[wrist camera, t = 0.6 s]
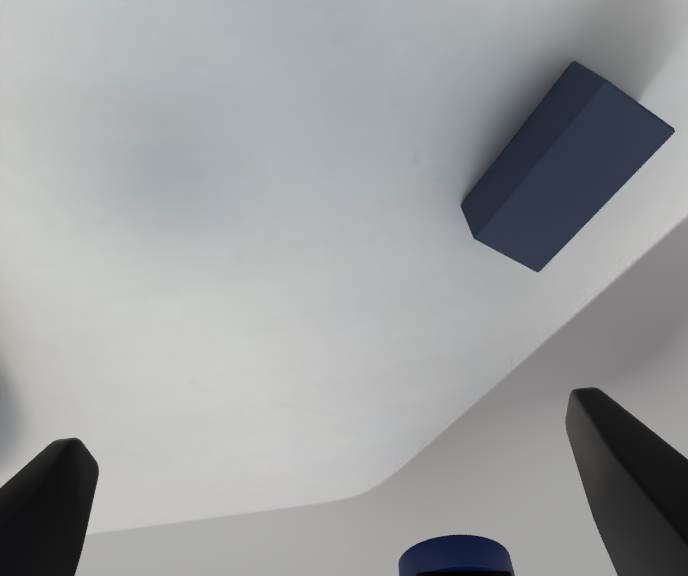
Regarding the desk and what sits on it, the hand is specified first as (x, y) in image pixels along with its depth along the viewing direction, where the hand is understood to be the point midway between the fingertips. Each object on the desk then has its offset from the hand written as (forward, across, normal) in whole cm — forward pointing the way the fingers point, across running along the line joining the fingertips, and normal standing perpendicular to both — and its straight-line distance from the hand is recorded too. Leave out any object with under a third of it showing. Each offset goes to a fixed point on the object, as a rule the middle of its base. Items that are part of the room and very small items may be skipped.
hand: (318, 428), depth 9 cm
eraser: (+12, -8, +1) cm, 14 cm away
